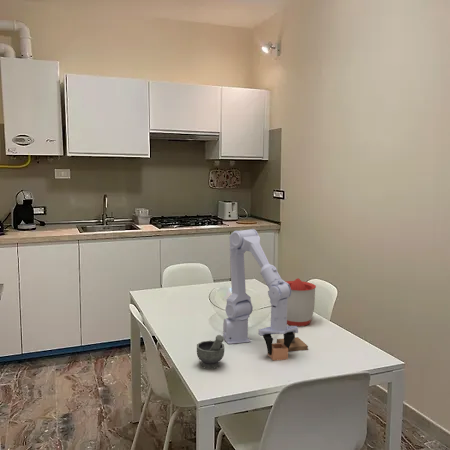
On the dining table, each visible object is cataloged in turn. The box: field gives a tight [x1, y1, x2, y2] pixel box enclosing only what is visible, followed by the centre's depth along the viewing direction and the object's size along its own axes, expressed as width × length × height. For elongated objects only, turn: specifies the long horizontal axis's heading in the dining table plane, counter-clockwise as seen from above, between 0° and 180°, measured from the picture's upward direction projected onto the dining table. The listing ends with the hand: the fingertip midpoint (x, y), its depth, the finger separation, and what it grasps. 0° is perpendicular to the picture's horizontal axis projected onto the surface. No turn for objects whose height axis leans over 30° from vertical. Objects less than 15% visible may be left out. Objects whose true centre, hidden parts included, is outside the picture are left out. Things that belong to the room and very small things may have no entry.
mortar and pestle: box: [196, 334, 225, 370], centre depth 156 cm, size 11×9×12 cm
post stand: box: [276, 332, 309, 353], centre depth 175 cm, size 9×9×6 cm
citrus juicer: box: [285, 277, 317, 327], centre depth 201 cm, size 16×17×20 cm
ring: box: [267, 342, 289, 361], centre depth 165 cm, size 6×6×4 cm
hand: (277, 353), depth 165 cm, fingers closed on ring, 6 cm apart
